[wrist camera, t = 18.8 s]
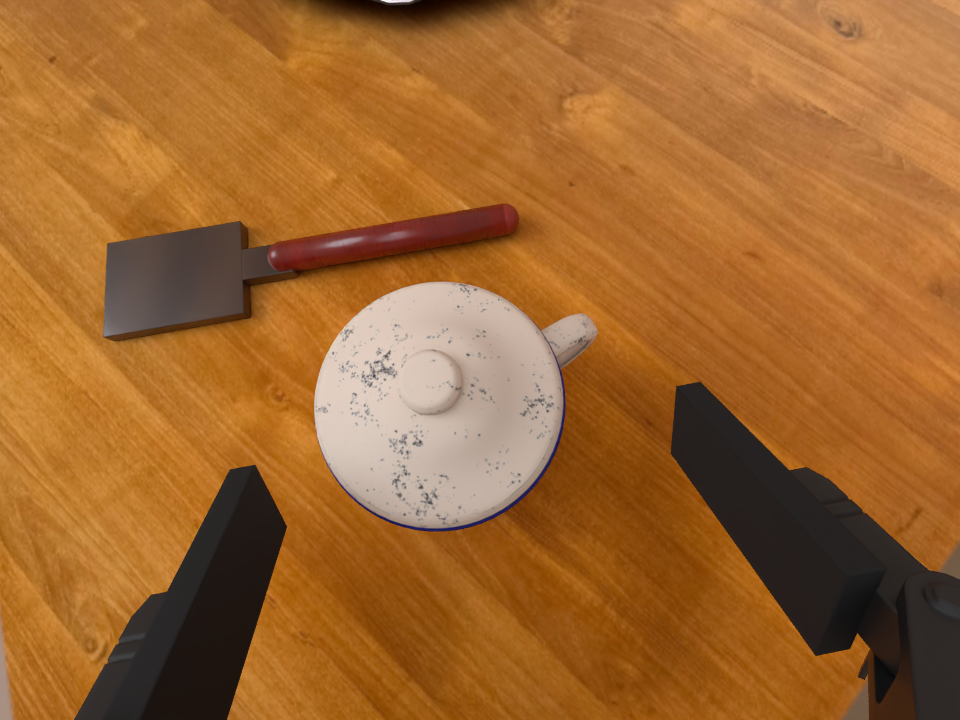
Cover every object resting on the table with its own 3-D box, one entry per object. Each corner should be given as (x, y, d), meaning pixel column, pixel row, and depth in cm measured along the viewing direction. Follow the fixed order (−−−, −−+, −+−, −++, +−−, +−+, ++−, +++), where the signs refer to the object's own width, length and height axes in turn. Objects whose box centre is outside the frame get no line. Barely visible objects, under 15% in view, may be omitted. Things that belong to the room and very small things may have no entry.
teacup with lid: (424, 551, 23) (360, 611, 12) (343, 399, 26) (227, 330, 14) (619, 428, 25) (726, 379, 13) (528, 293, 27) (553, 155, 16)
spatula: (113, 341, 27) (87, 331, 25) (117, 249, 28) (92, 234, 27) (527, 269, 27) (530, 255, 26) (508, 183, 29) (509, 164, 27)
